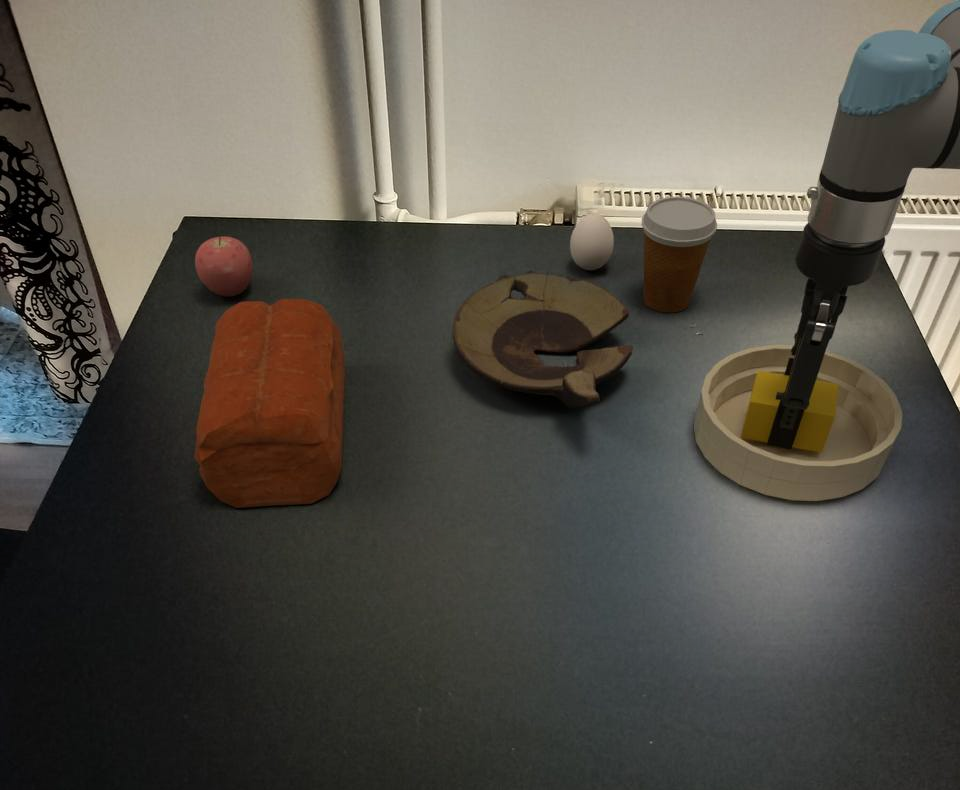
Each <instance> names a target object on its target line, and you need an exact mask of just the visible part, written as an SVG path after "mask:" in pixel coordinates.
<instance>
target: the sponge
mask: <svg viewBox="0 0 960 790" xmlns="http://www.w3.org/2000/svg"><path fill="white" fill-rule="evenodd" d="M788 379H789V376H787V375H782V374H776V373H770V372H764V371H757V375H756V378H755V382H754V386H753V390H752V393H751V397H750V401H749V405H748V409H747V413H746V417H745V422H744V426H743V430H742V435H741V438H745V439H751V440H756V441H762V442H768V438H769V435H770V432H771V428H772V425H773V422H774V419H775V415H776V412H777V409H778V406H779V402H780V400H777V399H775V398H776V394H777V392H781V393H783V392H784V391H785V389H786V386H787V382H788ZM838 391H839V384H834V383H829V382H823V381H817V380H816V382H815V385H814V388H813V391H812V394H811V397H810V400H809V402H810V403H809V407H807V409H806V410H804V413H803V416H802V419H801V422H800V425H799V428H798V431H797V434H796V437H795V440H794V443H793V446H792V447H794V448H799V449H804V450H810V451H815V452H821V453H822V451H823V449H824V446H825V443H826V440H827V438H828V435H829V432H830V429H831V426H832V424H833V421H834V418H835V413H836V406H837V399H838Z"/></svg>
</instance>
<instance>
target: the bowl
mask: <svg viewBox="0 0 960 790" xmlns="http://www.w3.org/2000/svg"><path fill="white" fill-rule="evenodd" d="M793 346H794V344H768V345H761V346H754V347H753V346H752V347H748V348H746V349H743V350H739V351H737V352H734V353H731V354H729V355H727V356H726V357H725V358H723V359H721V360H720V361H718V362H716V363H715V364H714V365H713V366H712V368H711V369H710V370H709V372H708V373H706V375H705V377H704V380H703V383H702V387H701V390H700V395H699V399H698V403H697V408H696V413H695V418H694V422H693V430H694V438H695V443H696V444H697V446H698V448H699V450H700V451H701V453H702V455H703V456H704V459H706V460H707V461H708V462H709V464H711V466H713V467H714V468H715V470H717V471H718V472H719V473H720V474H722V475H724V477H726V478H728V479H730V480H731V481H733V482H735V483H736V484H738V485H739V486H741V487H744V488H747V489H748V490H749V489H750V490H752V491H755V492H757V493H760V494H762V495H765V496H769V497H774V498H779V499H783V500H784V499H785V500H789V501H804V502H805V501H808V502H818V501H819V502H820V501H827V500H833V499H838V498H845V497H846V496H849V495H851V494H854V493H857V492H859V491H861V490H863V489H865V488H866V487H867V486H869V485H870V484H871V483H872V482H874V480H877V478H878V477H879V476H880V474H881V472H882V470H883V469H884V467H885V465H886V463H887V461H888V459H889V457H890V455H891V452H892V451H893V448H894V446H895V443H896V442H897V439H898V437H899V435H900V432H901V430H902V425H903V410H902V407H901V405H900V402H899V398H898V396H897V395H896V394H895V392H894V391H893V389H891V387H890V386H889V385H888V384H887V382H886V381H885V380H884V379H882V378H881V377H880V376H879V375H878V374H876V373H874V371H872V370H871V369H870V368H868V367H867V366H865V365H862V364H861V363H859V362H857V361H854V360H853V359H851V358H849V357H847V356H844V355H840V354H837V353H835V352H831V351H829V350H826V352H825V355H824V358H823V361H822V364H821V367H820V370H819V373H818V376H817V379H816V380H817V381H823V382H829V383H834V384H839V391H838V399H837V406H836V413H835V418H834V421H833V424H832V426H831V429H830V432H829V435H828V438H827V440H826V443H825V446H824V449H823V451H822V453H821V452H815V451H810V450H804V449H799V448H794V447H792V449H786V448H780V447H775V446H770V445H767V442H762V441H756V440H751V439H745V438H741V435H742V430H743V426H744V422H745V417H746V413H747V409H748V405H749V401H750V397H751V393H752V390H753V386H754V382H755V378H756V375H757V371H764V372H770V373H776V374H782V375H784V374H785V370H786V367H787V364H788V360H789V358H795V356H792V355H791V354H792V353H791V349H792V347H793Z"/></svg>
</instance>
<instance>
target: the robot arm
mask: <svg viewBox="0 0 960 790" xmlns="http://www.w3.org/2000/svg"><path fill="white" fill-rule="evenodd" d="M913 169H928V170H929V169H930V170H931V169H932V170H935V169H943V170H944V169H945V170H946V169H947V170H960V0H953V1H951V2H948V3H946V4H945V5H943V6H941V7H940V8H939V9H937V10H936V11H935V12H934V13H933V14H932V15H931V16H929V17H928V19H927V20H926V21H925V22H924V24H923V25H922V26H921V28H920V29H919V31H918V32H915V31H913V30H908V29H893V30H892V29H891V30H884V31H880V32H877V33H874V34H872V35H870V36H869V37H867V38H866V39H864V40H863V41H862V42H861V43H860V45H859V46H858V47H857V49H856V51H855V53H854V55H853V58H852V61H851V64H850V65H849V69H848V72H847V74H846V78H845V82H844V83H843V87H842V89H841V92H840V94H839V96H838V100H837V109H836V111H835V115H834V120H833V124H832V127H831V130H830V135H829V139H828V143H827V147H826V151H825V155H824V158H823V162H822V166H821V168H820V172H819V175H818V180H817V183H816V186H810V187H808V188H807V191H806V197H807V198H808V199H812V201H811V203H810V208H809V212H808V215H807V223H806V224H805V225H804V226H803V229H802V234H801V238H800V241H799V244H798V247H797V251H796V254H795V266H796V267H797V269H798V271H799V272H800V273H801V274H802V275H803V276H804V277H806V278H807V280H806V283H805V288H804V296H803V299H802V303H801V305H802V306H801V310H800V313H801V316H800V318H799V323H798V326H797V330H796V332H795V333H794V336H793V338H794V343H793V345H794V346H793V347H792V349H791V353H792V354H791V355H792V356H795V358H789V360H788V364H787V367H786V370H785V374H784V375H787V376H789V379H788V382H787V386H786V389H785V391H784V392H783V393H781V392H777V394H776V398H775V399H777V400H780V402H779V406H778V409H777V412H776V415H775V419H774V422H773V425H772V428H771V432H770V435H769V438H768V442H767V445H770V446H775V447H780V448H786V449H792V446H793V443H794V440H795V437H796V434H797V431H798V428H799V425H800V422H801V419H802V416H803V413H804V410H806V409H807V407H809V403H810V402H809V400H810V397H811V394H812V391H813V388H814V385H815V382H816V379H817V376H818V373H819V370H820V367H821V364H822V361H823V358H824V355H825V352H826V351H827V349H828V345H829V342H830V341H831V340H832V338H833V335H834V333H835V331H836V326H837V323H838V319H839V317H840V315H841V314H843V312H844V309H845V306H846V303H847V298H848V295H847V291H848V288H849V287H852V286H857V285H861V284H863V283H865V282H867V281H868V280H870V278H872V277H873V276H874V274H875V272H876V270H877V267H878V264H879V261H880V258H881V256H882V254H883V253H882V252H883V249H884V246H885V244H886V236H889V234H890V231H891V229H892V227H893V224H894V221H895V218H896V216H897V212H898V210H899V207H900V204H901V202H902V199H903V197H904V193H905V189H906V186H907V184H908V180H909V177H910V175H911V173H912V171H913Z"/></svg>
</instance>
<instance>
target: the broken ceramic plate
mask: <svg viewBox="0 0 960 790" xmlns="http://www.w3.org/2000/svg"><path fill="white" fill-rule="evenodd" d="M513 291H516V292H517V293H521V294H522V295H523V296H522V298H513V297H512V293H513ZM629 317H630V313H629V309H628V308H627V307H626V306H624V304H623V302H622V300H620V299H619V298H618V297H617V296H615V295H614V294H611V292H609V291H608V290H607V289H605V288H604V287H602V286H600V285H598V284H596V283H593V282H591V281H588V280H585V279H581V278H577V277H576V278H575V277H570V276H568V275H566V276H563V275H562V274H556V273H555V274H552V273H551V274H550V273H548V272H547V273H541V272H537V271H534V270H529V271H527V272H525V273H522V274H519V275H506V274H503V275H500V276H499V277H498V278H497V279H496V281H494V282H491V283H489V284H487V285H485V286H483V287H481V288H480V289H478V290H477V291H475V292H474V293H472V294H471V295H470V296H469V297H467V298H466V299H465V300H464V301H463V303H462V304H461V305H460V306H459V308H458V309H457V311H456V313H455V316H454V319H453V321H452V327H451V328H452V331H451V332H452V338H453V343H454V347H455V350H456V352H457V354H458V356H459V358H460V359H461V360H462V362H463V363H464V364H465V365H466V367H467V368H468V369H469V370H470V371H472V372H473V373H475V374H476V375H477V376H479V377H481V378H482V379H483V380H485V381H488V382H489V383H492V384H494V385H496V386H498V387H501V388H504V389H508V390H510V391H515V392H518V393H519V392H520V393H525V394H534V395H541V396H555V397H557V398H558V399H559V400H561V402H563V404H564V405H566V406H567V407H569V408H580V407H584V406H590V405H594V404H597V403H599V402H601V401H600V400H601V398H600V394H599V393H598V392H597V391H596V386H597V385H598V384H600V383H602V382H604V381H606V380H608V379H609V378H611V377H613V376H614V375H615V374H617V373H618V372H620V370H621V369H622V368H623V367H624V366H625V365H626V363H627V362H628V361H629V359H630V358H631V356H632V354H633V350H634V347H633V345H629V344H628V345H622V346H620V345H617V346H615V347H603V348H600V349H598V348H596V349H584V348H586V347H588V346H590V345H591V344H592V343H594V342H596V341H598V340H600V339H601V338H602V337H604V336H605V335H607V334H609V333H610V332H611V331H612V330H614V329H615V328H617V327H618V326H620V325H621V324H622V323H623V322H625V321H626V320H627V319H628V318H629ZM581 349H583V350H581ZM535 352H542V353H544V352H546V353H554V354H565V353H566V354H567V353H568V354H569V353H571V352H573V353H575V352H576V362H577V365H574V366H568V365H567V363H566V361H565V360H563V362H564V366H558V365H553V366H551V365H545V364H543V362H542V360H541V359H540V357H538V355H536V353H535Z"/></svg>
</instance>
